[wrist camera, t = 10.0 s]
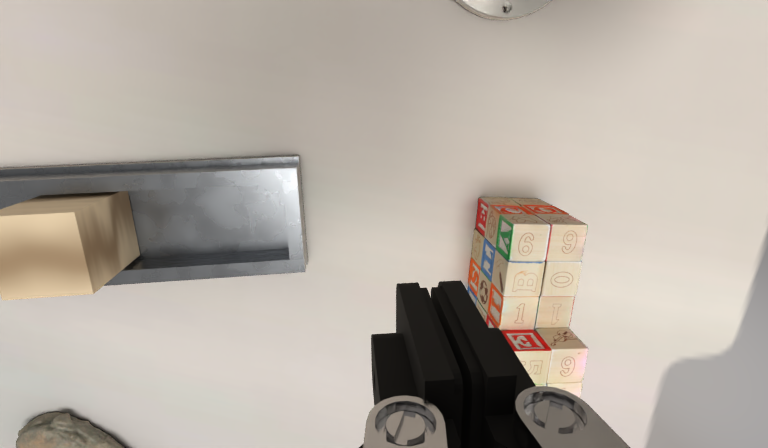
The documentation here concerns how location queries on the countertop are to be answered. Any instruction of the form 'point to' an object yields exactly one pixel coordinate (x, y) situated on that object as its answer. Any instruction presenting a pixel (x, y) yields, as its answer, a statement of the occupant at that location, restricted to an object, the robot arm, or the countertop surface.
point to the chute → (191, 213)
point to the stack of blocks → (531, 284)
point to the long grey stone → (63, 433)
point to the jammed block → (65, 244)
